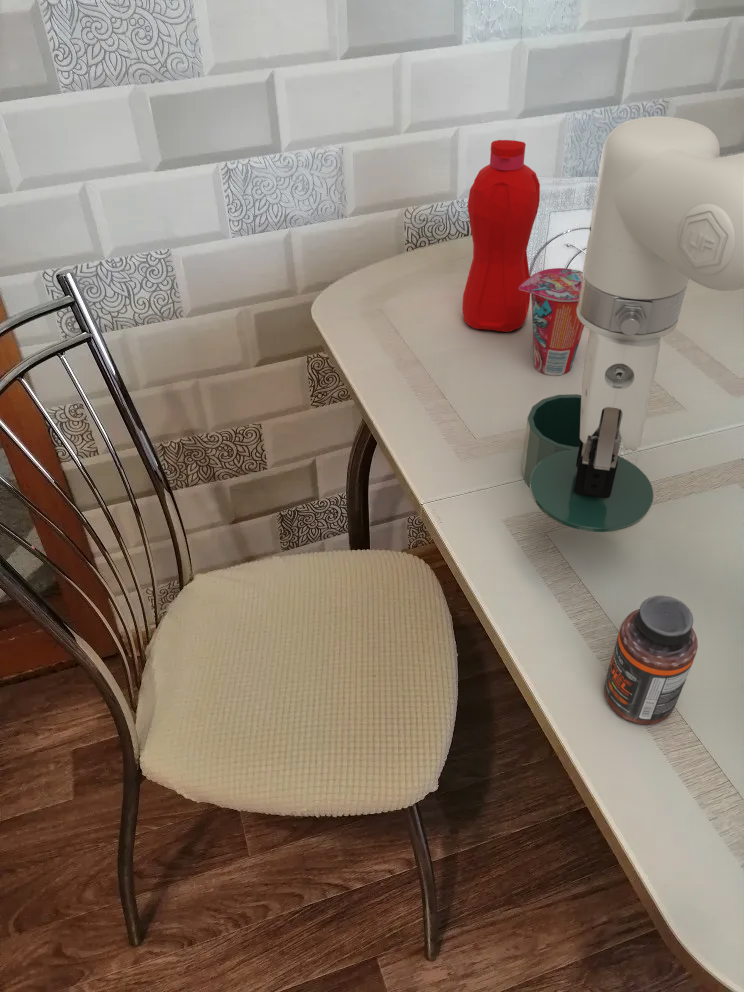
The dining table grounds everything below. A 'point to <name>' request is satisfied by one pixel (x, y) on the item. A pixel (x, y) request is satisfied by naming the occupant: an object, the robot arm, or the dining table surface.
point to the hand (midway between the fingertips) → (592, 479)
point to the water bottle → (500, 239)
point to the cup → (554, 318)
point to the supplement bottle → (651, 660)
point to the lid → (588, 512)
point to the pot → (551, 430)
